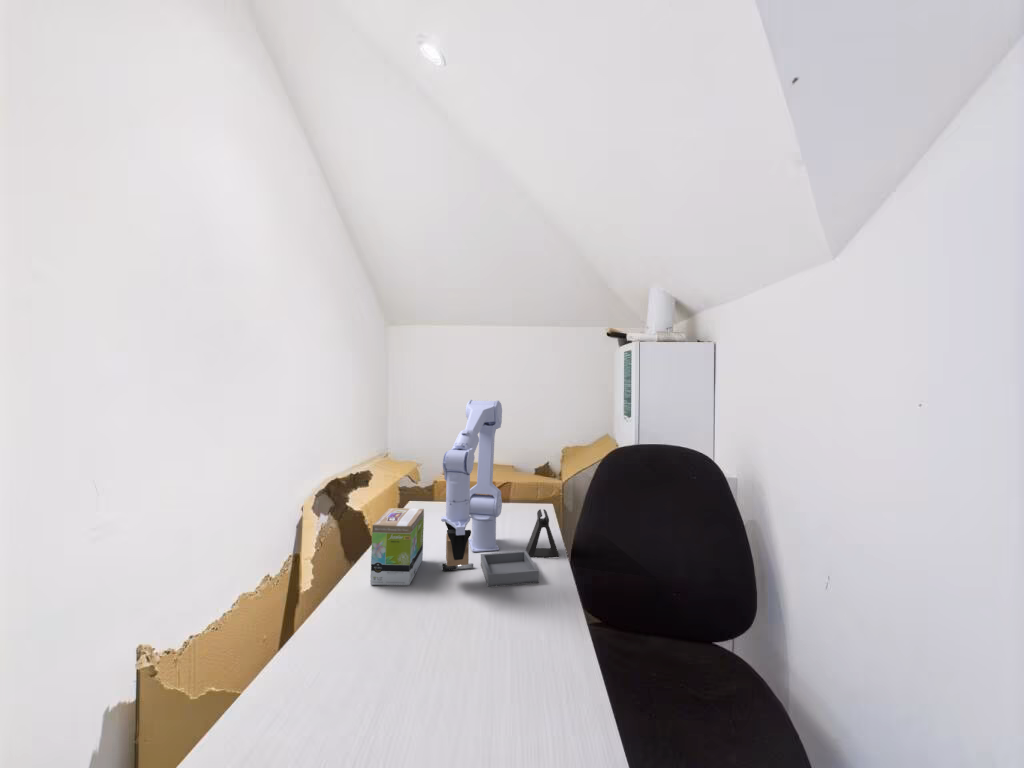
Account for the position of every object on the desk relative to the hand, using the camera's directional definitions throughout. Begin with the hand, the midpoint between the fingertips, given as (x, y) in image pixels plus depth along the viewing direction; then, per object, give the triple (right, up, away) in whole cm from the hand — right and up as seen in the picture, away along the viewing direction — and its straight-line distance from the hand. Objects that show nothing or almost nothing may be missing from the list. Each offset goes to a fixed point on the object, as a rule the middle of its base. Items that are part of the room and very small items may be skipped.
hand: (457, 554), depth 103 cm
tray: (+12, -7, +6) cm, 16 cm away
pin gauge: (-1, -7, +8) cm, 11 cm away
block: (0, -2, 0) cm, 2 cm away
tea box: (-16, -7, +6) cm, 19 cm away
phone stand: (+22, -8, +19) cm, 30 cm away
